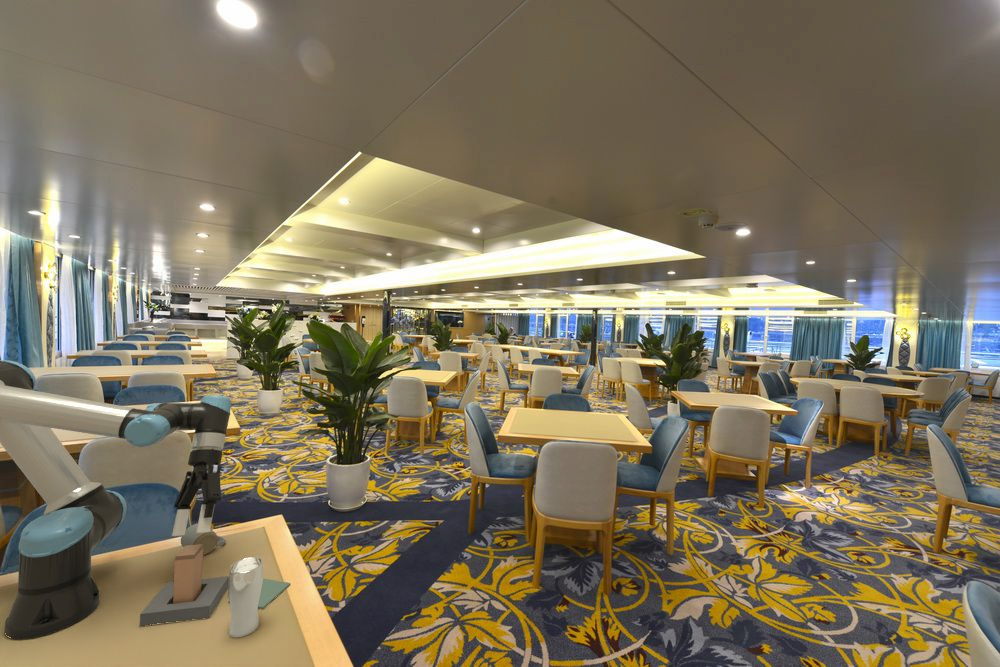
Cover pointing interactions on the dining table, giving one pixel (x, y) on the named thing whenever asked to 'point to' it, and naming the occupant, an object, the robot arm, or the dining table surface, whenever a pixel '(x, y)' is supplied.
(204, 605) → the socket block
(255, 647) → the dining table surface
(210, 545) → the ceramic mug
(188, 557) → the brown tall block
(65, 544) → the robot arm
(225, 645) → the dining table surface
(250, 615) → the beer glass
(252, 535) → the dining table surface
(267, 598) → the mat
